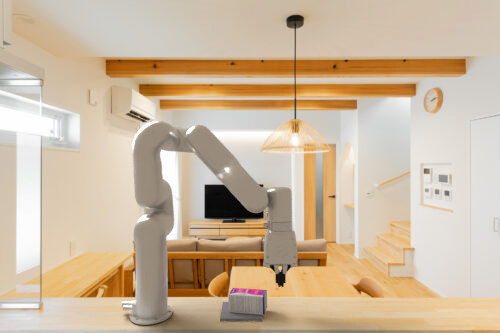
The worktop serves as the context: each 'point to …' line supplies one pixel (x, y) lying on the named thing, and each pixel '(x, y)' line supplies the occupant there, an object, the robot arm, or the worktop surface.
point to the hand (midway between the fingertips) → (280, 285)
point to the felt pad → (237, 315)
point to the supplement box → (248, 301)
